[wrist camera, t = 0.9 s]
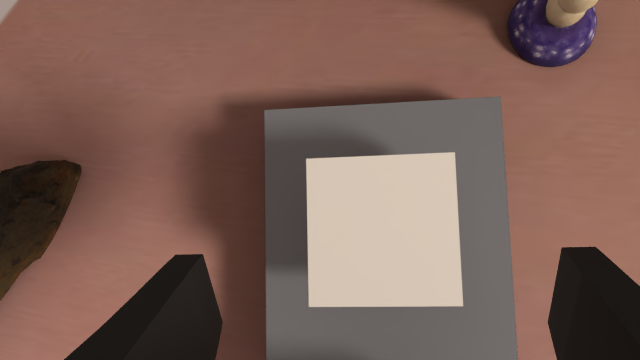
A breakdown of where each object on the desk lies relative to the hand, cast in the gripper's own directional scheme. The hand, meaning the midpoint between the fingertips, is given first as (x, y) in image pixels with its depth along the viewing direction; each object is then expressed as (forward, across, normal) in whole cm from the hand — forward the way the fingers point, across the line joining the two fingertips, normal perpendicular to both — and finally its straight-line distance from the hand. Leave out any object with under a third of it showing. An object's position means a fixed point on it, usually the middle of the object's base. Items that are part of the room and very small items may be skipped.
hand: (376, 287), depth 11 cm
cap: (+11, 0, +7) cm, 13 cm away
